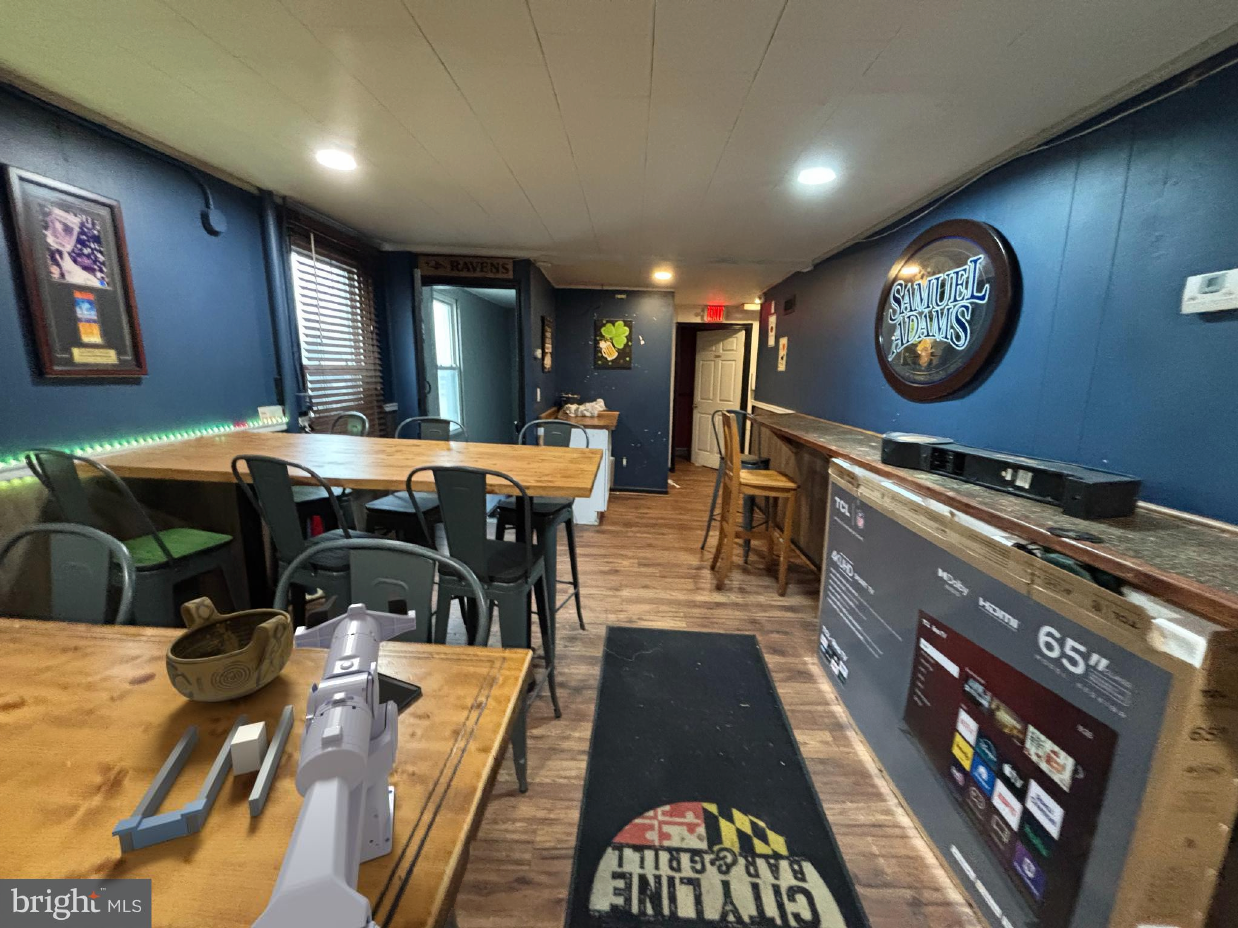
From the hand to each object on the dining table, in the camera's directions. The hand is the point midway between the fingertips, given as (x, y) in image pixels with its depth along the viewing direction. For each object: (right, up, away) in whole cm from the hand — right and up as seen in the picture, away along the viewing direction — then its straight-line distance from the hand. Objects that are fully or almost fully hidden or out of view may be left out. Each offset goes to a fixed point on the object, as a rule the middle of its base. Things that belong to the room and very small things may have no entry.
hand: (364, 597), depth 70 cm
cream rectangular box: (-13, -22, -5) cm, 27 cm away
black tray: (-4, -21, +10) cm, 23 cm away
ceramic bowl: (-28, -19, +10) cm, 35 cm away
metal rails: (-16, -23, -7) cm, 29 cm away
